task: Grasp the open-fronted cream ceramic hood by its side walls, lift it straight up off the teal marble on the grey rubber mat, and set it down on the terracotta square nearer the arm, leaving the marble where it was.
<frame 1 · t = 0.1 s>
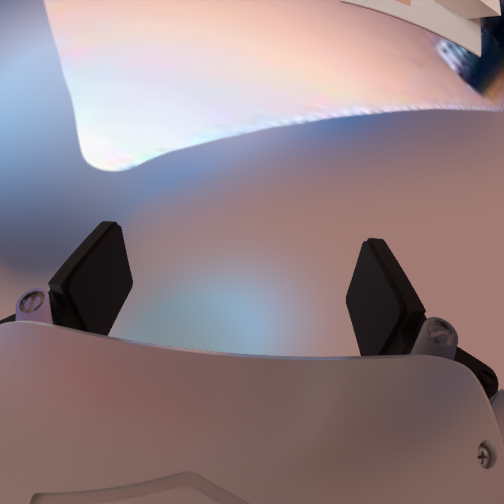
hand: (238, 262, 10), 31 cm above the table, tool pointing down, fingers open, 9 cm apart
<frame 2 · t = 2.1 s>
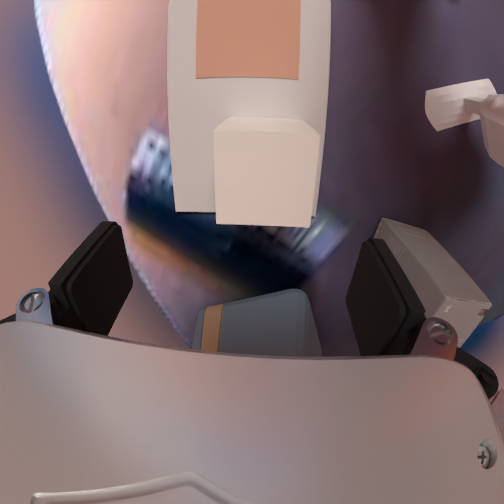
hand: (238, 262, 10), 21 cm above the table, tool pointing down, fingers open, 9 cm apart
hood: (265, 152, 28), point 1 cm above the table, touching mat
mat: (246, 95, 25), on the table
skincare box: (397, 240, 33), on the table
heart sculpture: (464, 102, 22), on the table
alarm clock: (263, 328, 43), on the table
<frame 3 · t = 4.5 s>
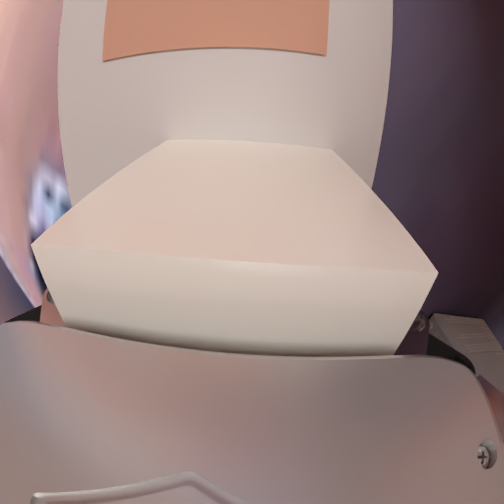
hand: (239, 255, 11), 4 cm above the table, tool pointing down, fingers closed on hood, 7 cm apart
hood: (244, 216, 14), point 1 cm above the table, touching gripper, mat
mat: (207, 89, 11), on the table
skincare box: (444, 335, 20), on the table
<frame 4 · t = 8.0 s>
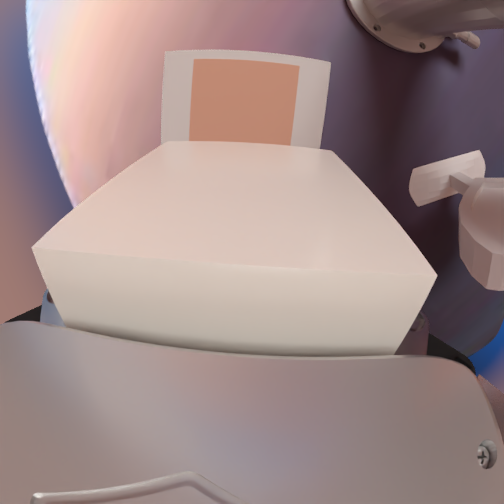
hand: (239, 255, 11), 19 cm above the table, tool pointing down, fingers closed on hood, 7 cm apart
hood: (244, 217, 14), point 16 cm above the table, touching gripper
mat: (237, 174, 28), on the table
heart sculpture: (450, 176, 27), on the table
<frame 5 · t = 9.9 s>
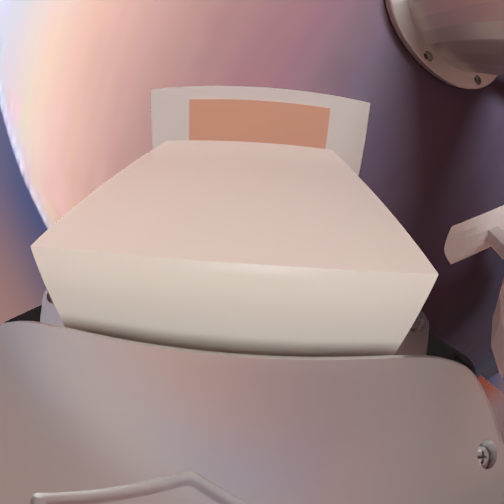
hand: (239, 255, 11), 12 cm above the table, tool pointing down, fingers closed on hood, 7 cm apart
hood: (244, 217, 14), point 9 cm above the table, touching gripper
mat: (251, 241, 25), on the table
heart sculpture: (488, 229, 22), on the table
when the fingers open (5 cm above the table, at t = 11.7 s): hood drops 1 cm, resting on mat.
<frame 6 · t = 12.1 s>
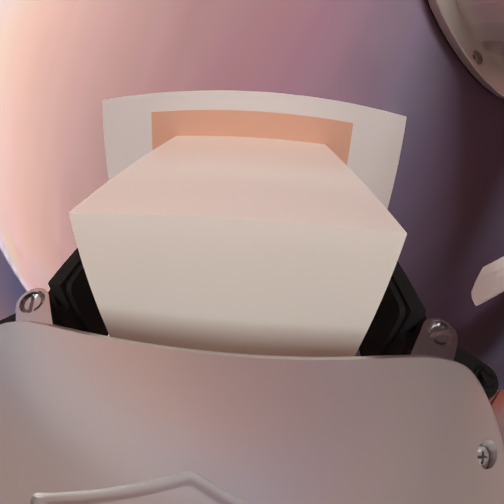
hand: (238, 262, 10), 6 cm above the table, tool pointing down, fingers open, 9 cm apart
hood: (246, 205, 15), point 1 cm above the table, touching mat
mat: (242, 296, 19), on the table
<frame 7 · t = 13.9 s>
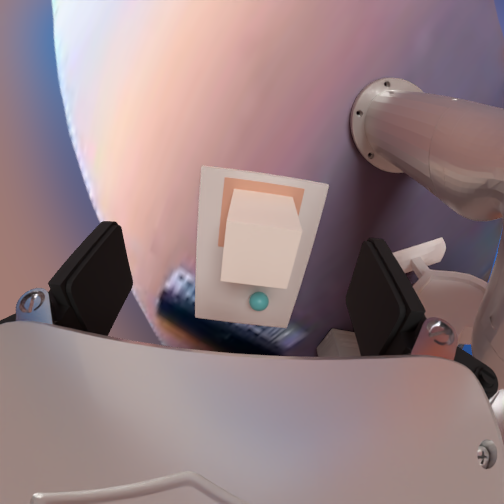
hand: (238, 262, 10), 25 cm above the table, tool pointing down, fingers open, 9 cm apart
hood: (259, 218, 37), point 1 cm above the table, touching mat
marble: (259, 301, 42), point 2 cm above the table, touching mat
mat: (251, 259, 41), on the table
skincare box: (342, 338, 51), on the table
heart sculpture: (412, 258, 40), on the table
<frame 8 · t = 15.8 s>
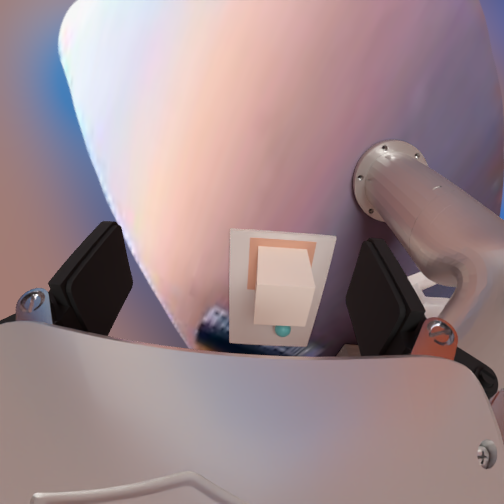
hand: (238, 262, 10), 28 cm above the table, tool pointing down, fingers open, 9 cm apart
hood: (280, 267, 44), point 1 cm above the table, touching mat
marble: (282, 329, 50), point 2 cm above the table, touching mat
mat: (275, 297, 49), on the table
heart sculpture: (411, 284, 47), on the table
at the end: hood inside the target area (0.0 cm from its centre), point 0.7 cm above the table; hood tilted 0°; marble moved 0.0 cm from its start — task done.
